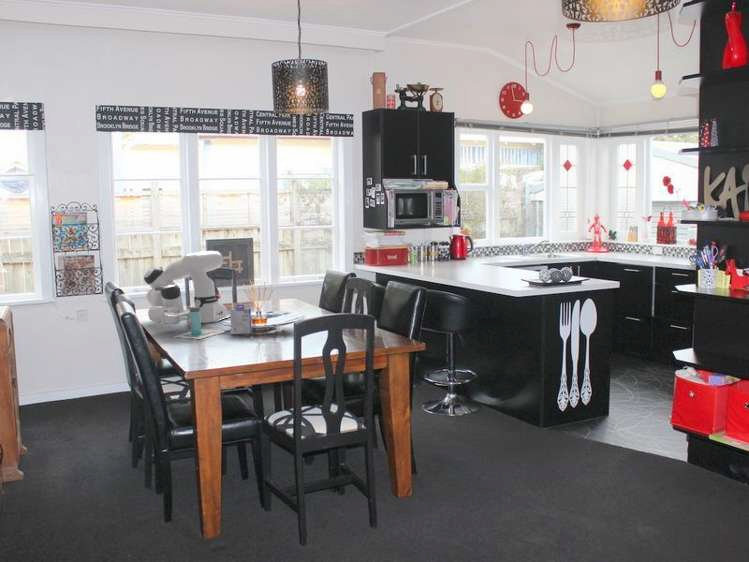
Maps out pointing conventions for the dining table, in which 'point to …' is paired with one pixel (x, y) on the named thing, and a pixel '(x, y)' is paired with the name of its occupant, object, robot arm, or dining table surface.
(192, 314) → the teal canister
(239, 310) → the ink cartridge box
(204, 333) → the picture board
